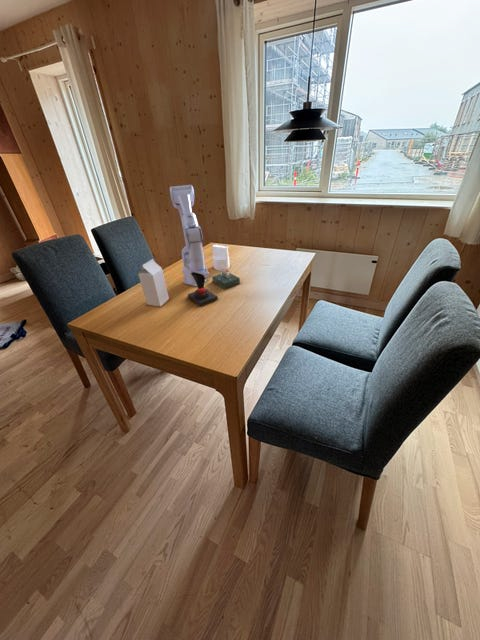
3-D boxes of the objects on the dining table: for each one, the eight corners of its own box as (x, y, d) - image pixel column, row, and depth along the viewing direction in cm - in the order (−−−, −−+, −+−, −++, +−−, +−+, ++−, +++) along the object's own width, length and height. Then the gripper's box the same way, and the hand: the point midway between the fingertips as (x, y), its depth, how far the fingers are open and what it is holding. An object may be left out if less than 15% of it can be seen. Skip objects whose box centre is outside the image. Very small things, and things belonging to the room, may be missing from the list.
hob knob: (221, 276, 132) (221, 268, 129) (224, 275, 132) (223, 268, 130) (227, 279, 128) (226, 271, 126) (229, 278, 129) (229, 270, 127)
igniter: (188, 297, 121) (186, 290, 119) (204, 291, 125) (204, 284, 123) (200, 306, 113) (199, 299, 112) (217, 299, 118) (216, 292, 116)
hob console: (212, 281, 134) (212, 276, 132) (227, 276, 138) (226, 271, 136) (225, 289, 126) (224, 283, 124) (239, 283, 131) (239, 277, 129)
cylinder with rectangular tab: (232, 265, 150) (231, 245, 144) (223, 271, 144) (221, 250, 138) (220, 263, 155) (218, 242, 148) (210, 268, 148) (208, 247, 142)
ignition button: (196, 292, 118) (195, 288, 117) (203, 289, 120) (202, 286, 119) (200, 295, 116) (199, 291, 115) (207, 292, 117) (206, 288, 116)
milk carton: (169, 299, 120) (160, 259, 110) (160, 306, 115) (150, 265, 104) (156, 297, 123) (145, 258, 112) (146, 304, 117) (135, 264, 107)
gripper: (180, 255, 112) (185, 285, 119) (196, 265, 102) (201, 296, 109) (194, 251, 115) (198, 280, 123) (212, 260, 105) (215, 290, 113)
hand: (201, 287), depth 116 cm, fingers closed
